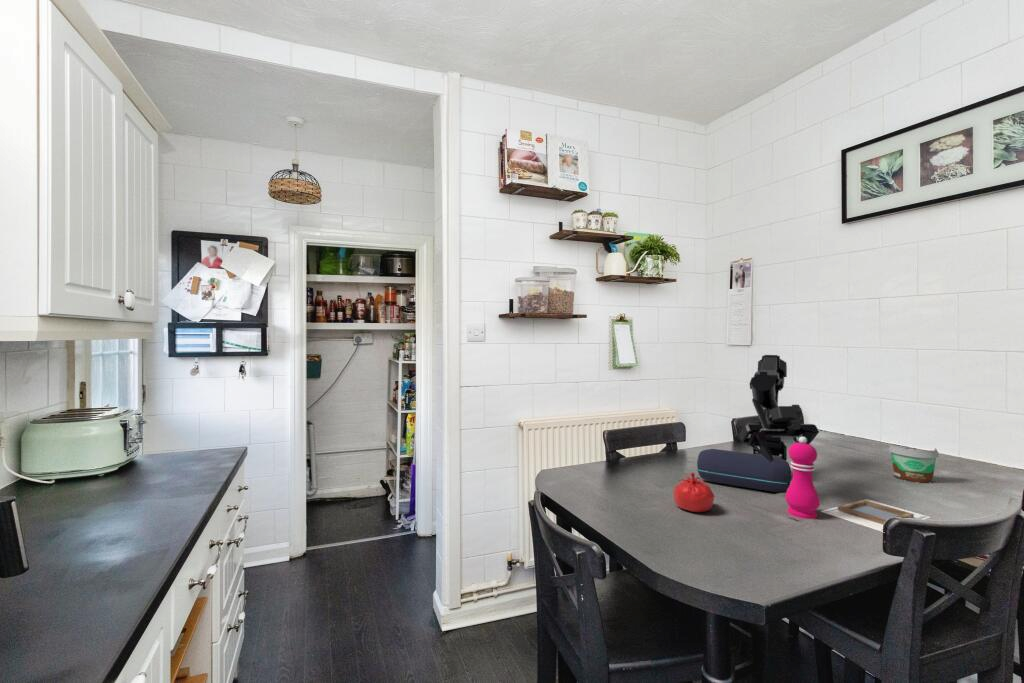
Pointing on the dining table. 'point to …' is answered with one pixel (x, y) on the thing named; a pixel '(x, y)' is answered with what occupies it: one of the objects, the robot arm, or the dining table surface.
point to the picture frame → (872, 512)
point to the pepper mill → (802, 481)
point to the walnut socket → (848, 507)
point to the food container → (913, 464)
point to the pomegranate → (693, 495)
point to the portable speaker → (744, 470)
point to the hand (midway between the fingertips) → (790, 461)
